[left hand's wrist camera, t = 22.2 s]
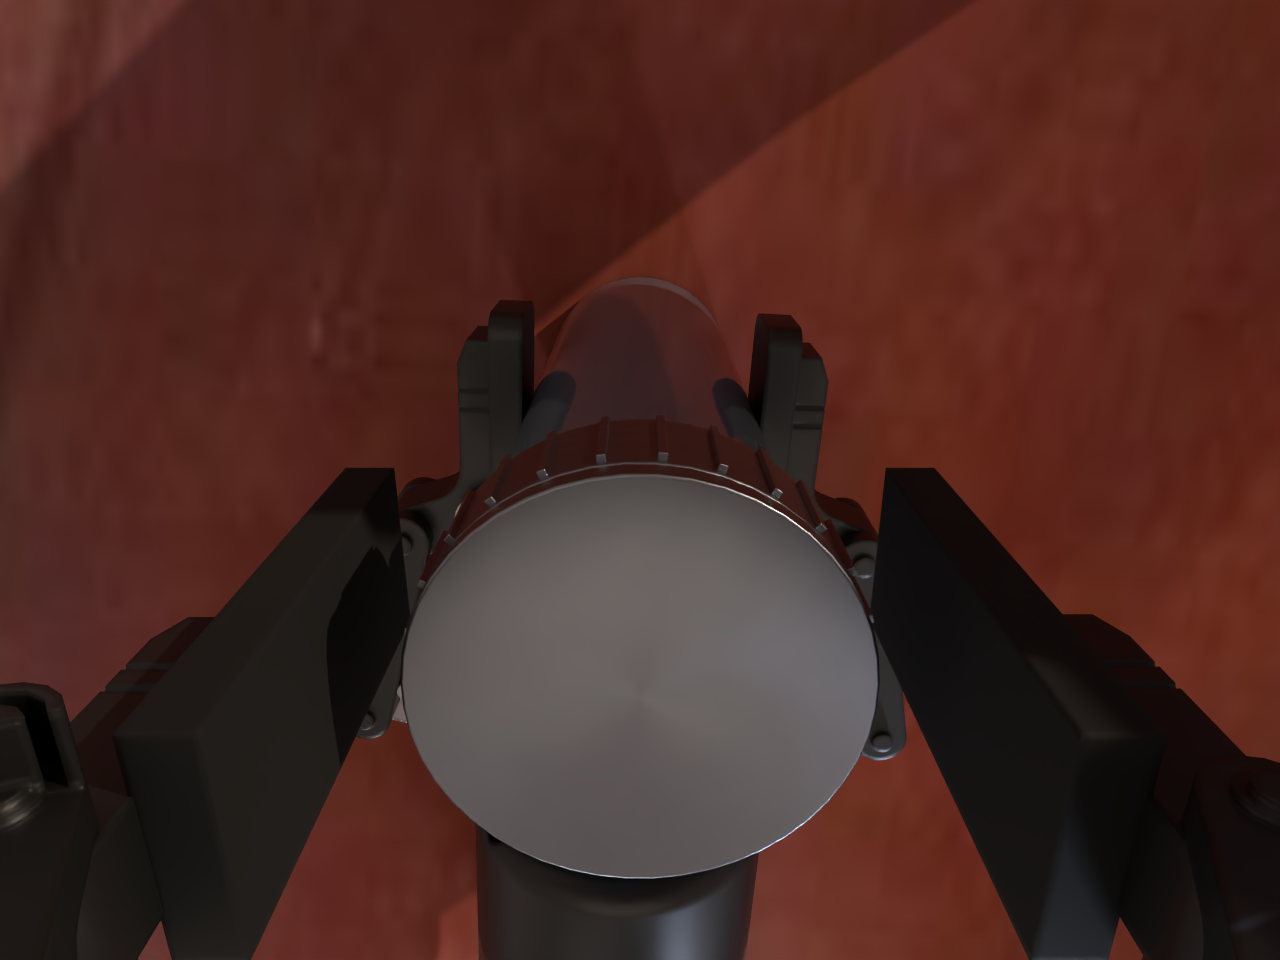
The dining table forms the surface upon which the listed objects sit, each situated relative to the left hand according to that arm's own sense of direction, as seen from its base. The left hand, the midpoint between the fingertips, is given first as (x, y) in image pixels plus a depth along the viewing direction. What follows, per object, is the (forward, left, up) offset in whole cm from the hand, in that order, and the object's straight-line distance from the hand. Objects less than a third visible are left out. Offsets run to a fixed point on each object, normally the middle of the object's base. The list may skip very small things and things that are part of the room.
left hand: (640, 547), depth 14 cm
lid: (0, 0, +4) cm, 4 cm away
